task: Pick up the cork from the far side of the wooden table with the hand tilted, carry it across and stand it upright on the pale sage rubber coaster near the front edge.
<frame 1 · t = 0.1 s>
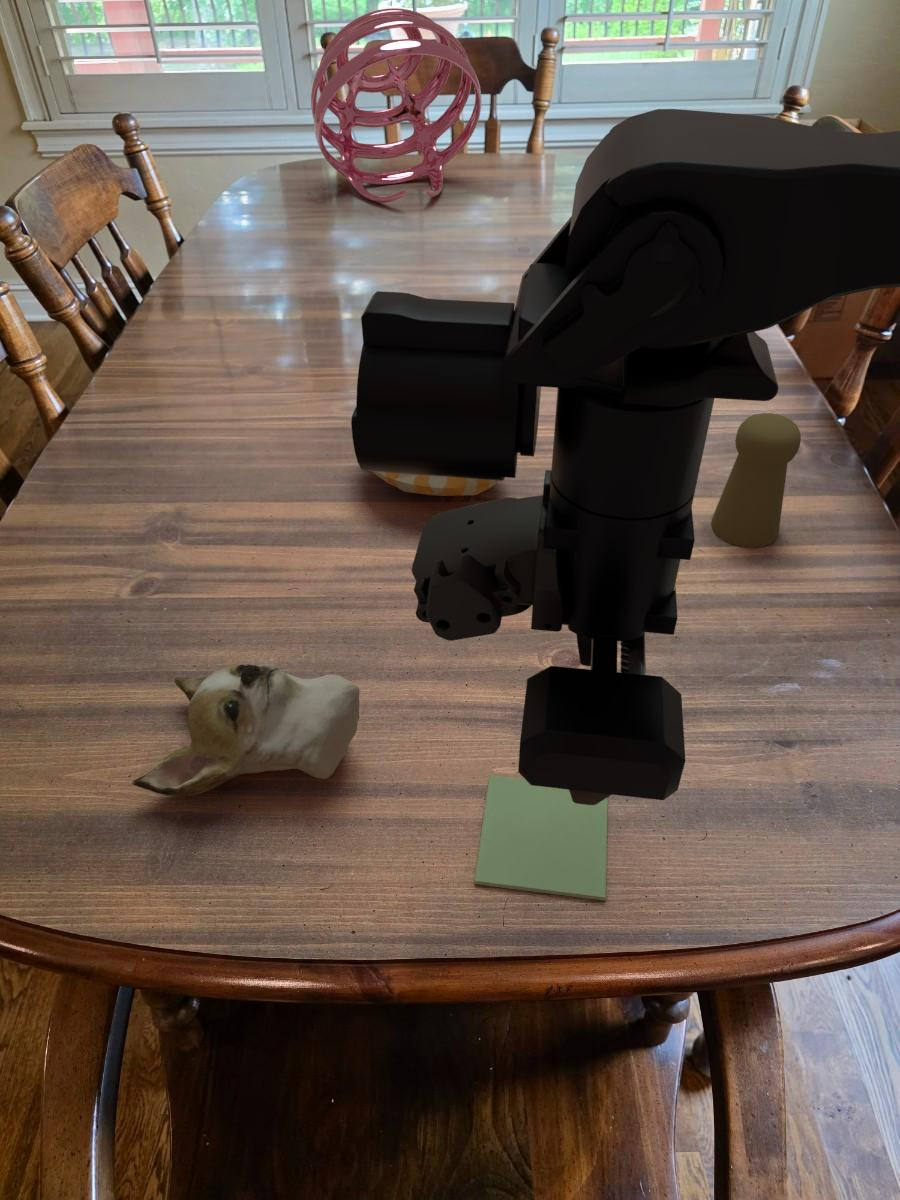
hand: (587, 727, 45), 14 cm above the table, tool pointing down, fingers open, 9 cm apart
coaster: (543, 836, 56), on the table
cork: (744, 528, 80), on the table
ceramic sculpture: (264, 754, 61), on the table
spiral basket: (400, 190, 153), on the table
nautilus: (434, 464, 88), on the table
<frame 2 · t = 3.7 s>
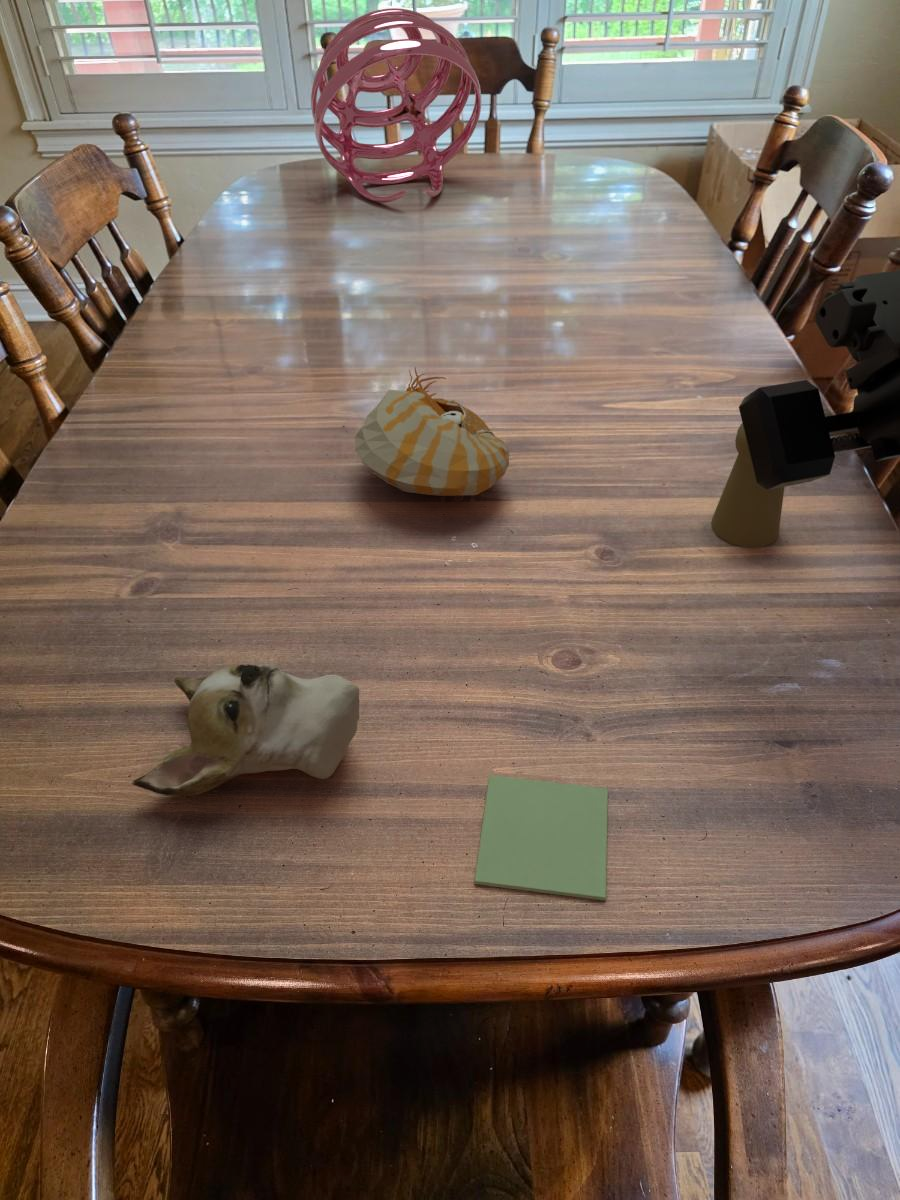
hand: (810, 453, 64), 13 cm above the table, tool tilted 45°, fingers open, 9 cm apart
nothing on the table moved.
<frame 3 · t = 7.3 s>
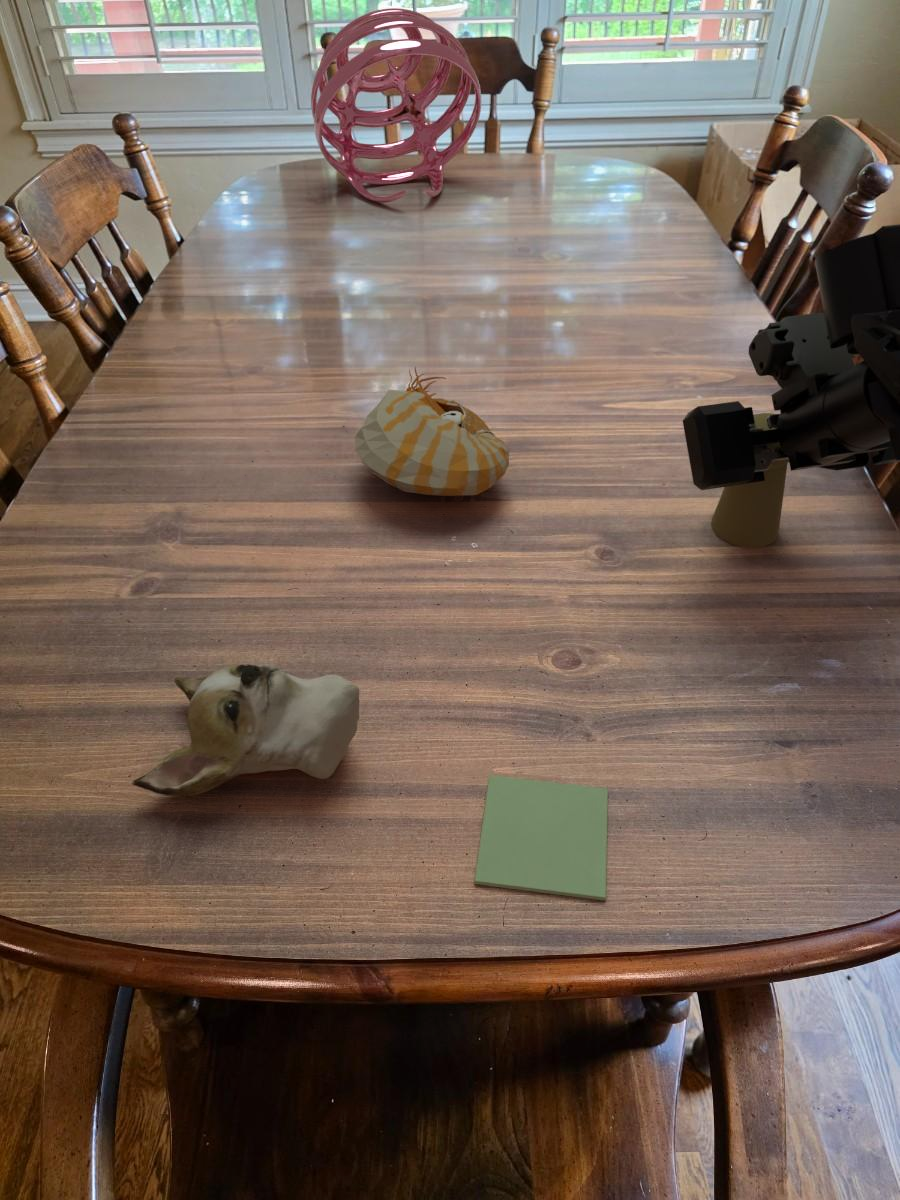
hand: (753, 458, 76), 7 cm above the table, tool tilted 45°, fingers closed on cork, 5 cm apart
cork: (744, 528, 80), on the table, touching gripper
everything else where it was.
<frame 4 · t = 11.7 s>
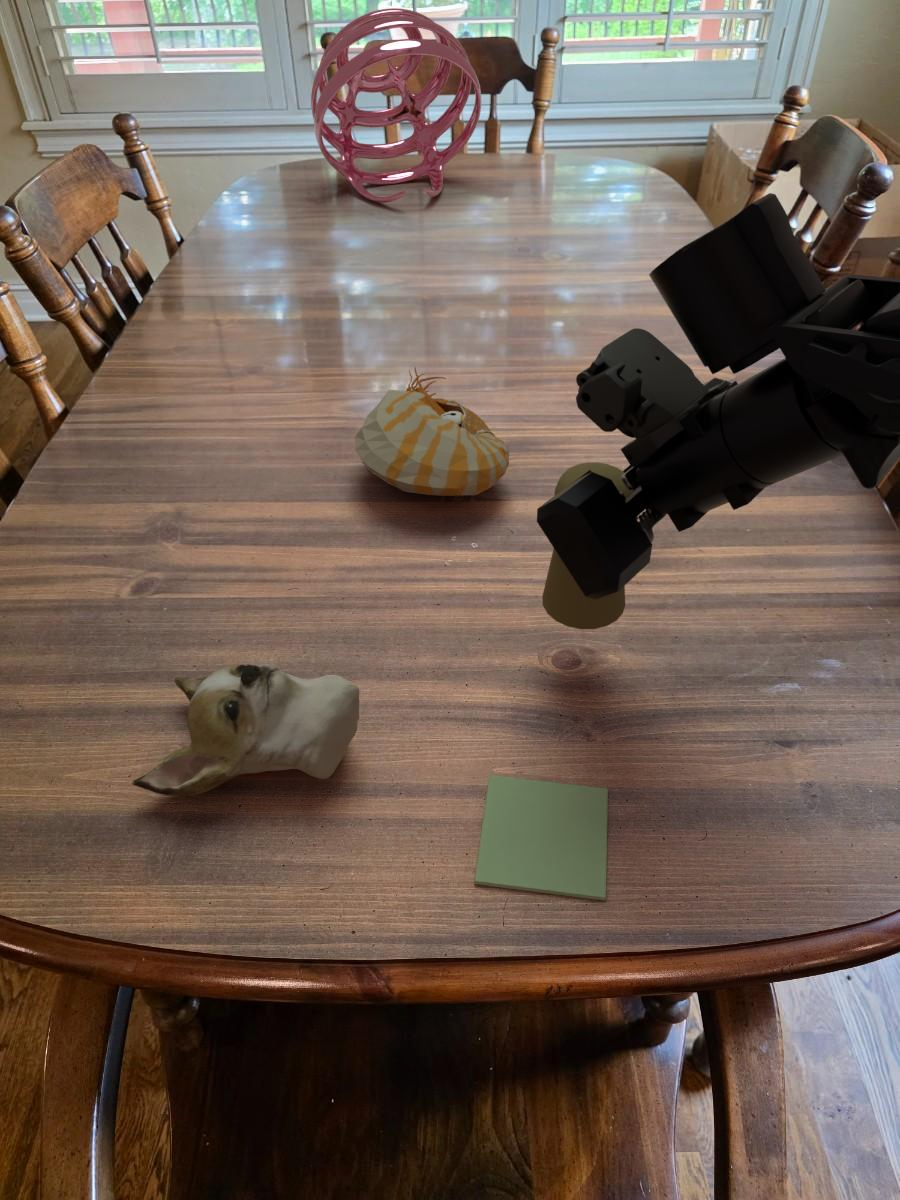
hand: (574, 521, 60), 13 cm above the table, tool tilted 45°, fingers closed on cork, 5 cm apart
cork: (583, 603, 64), point 6 cm above the table, touching gripper
everything else where it was.
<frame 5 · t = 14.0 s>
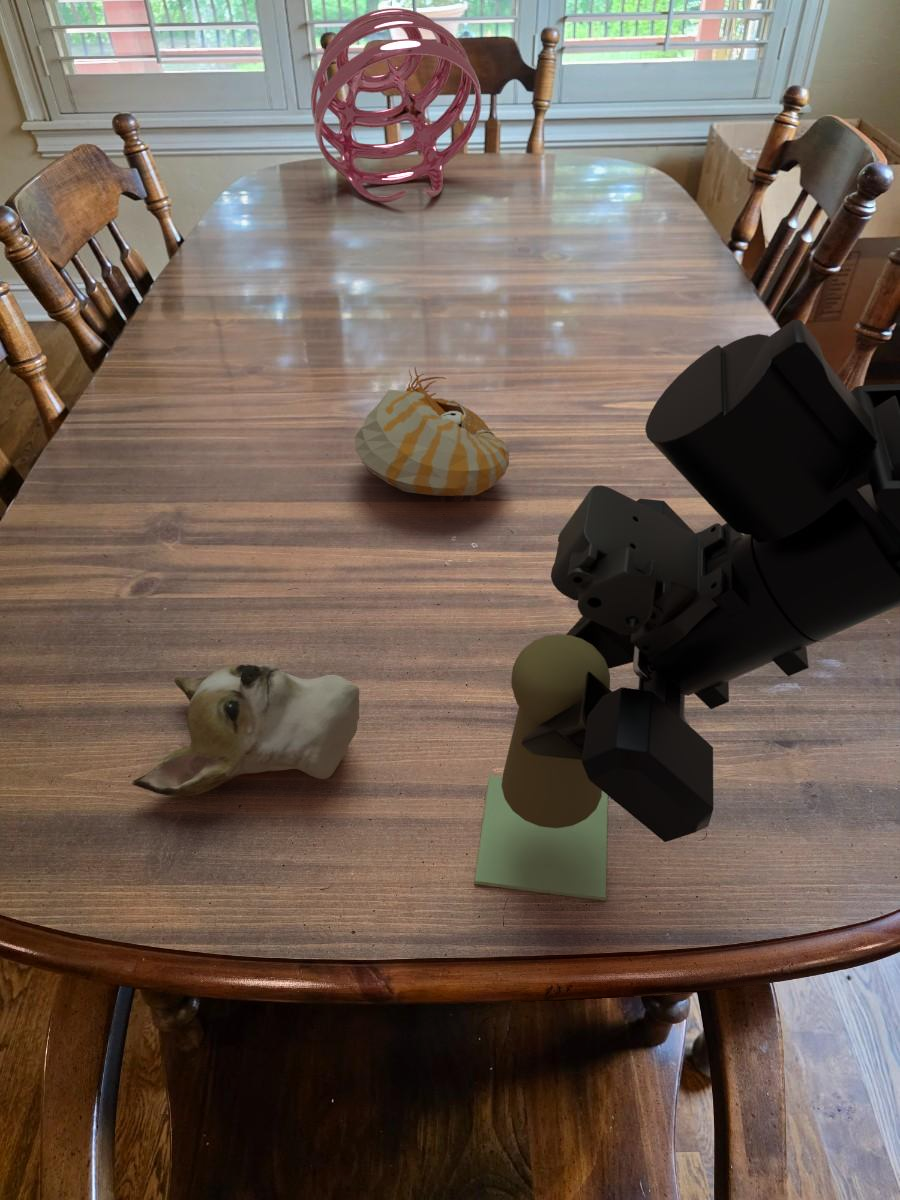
hand: (533, 709, 48), 12 cm above the table, tool tilted 45°, fingers closed on cork, 5 cm apart
cork: (551, 786, 52), point 5 cm above the table, touching gripper
everything else where it was.
when the fingers open (7 cm above the table, at t = 15.9 s): cork stays where it is, resting on coaster.
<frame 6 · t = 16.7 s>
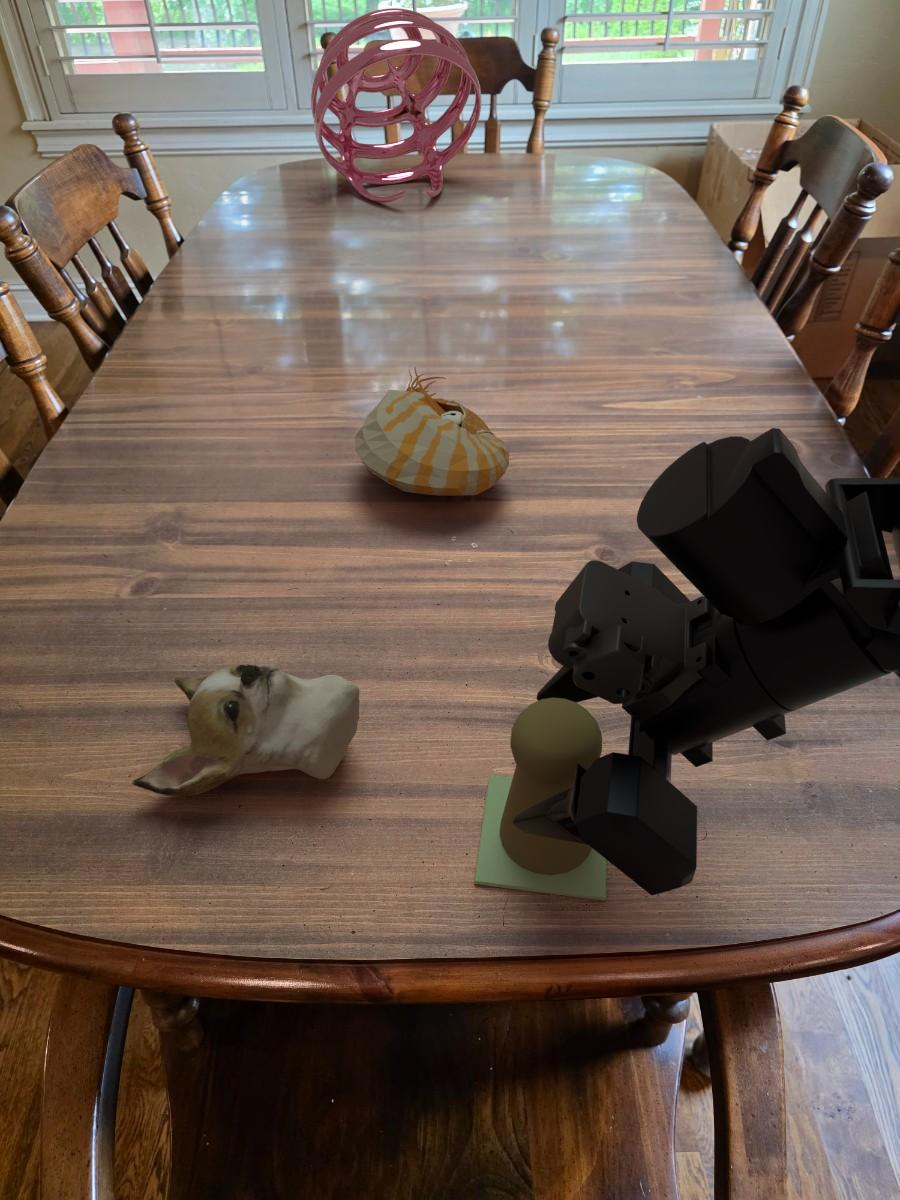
hand: (530, 759, 51), 8 cm above the table, tool tilted 45°, fingers open, 9 cm apart
cork: (546, 834, 56), resting on coaster
everything else where it was.
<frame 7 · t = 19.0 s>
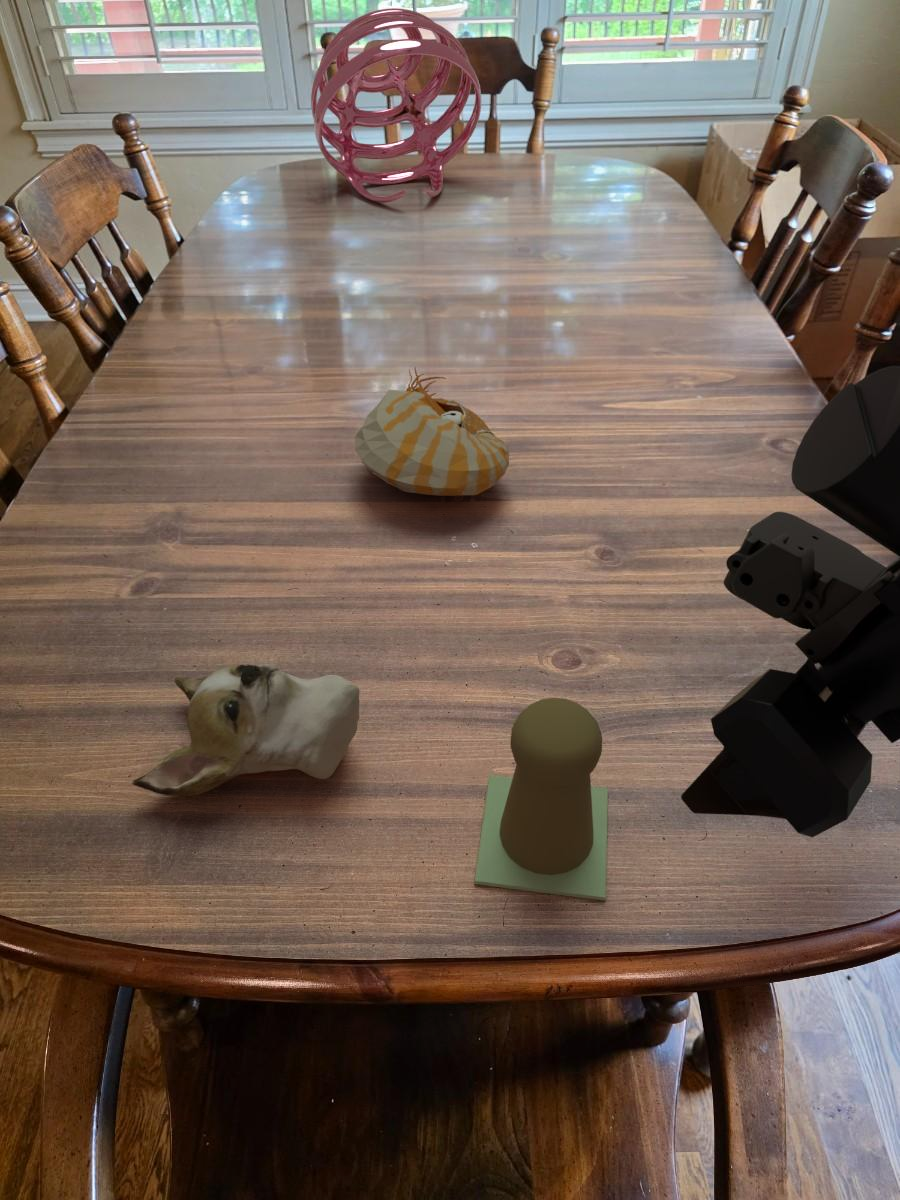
hand: (724, 764, 47), 10 cm above the table, tool tilted 30°, fingers open, 9 cm apart
nothing on the table moved.
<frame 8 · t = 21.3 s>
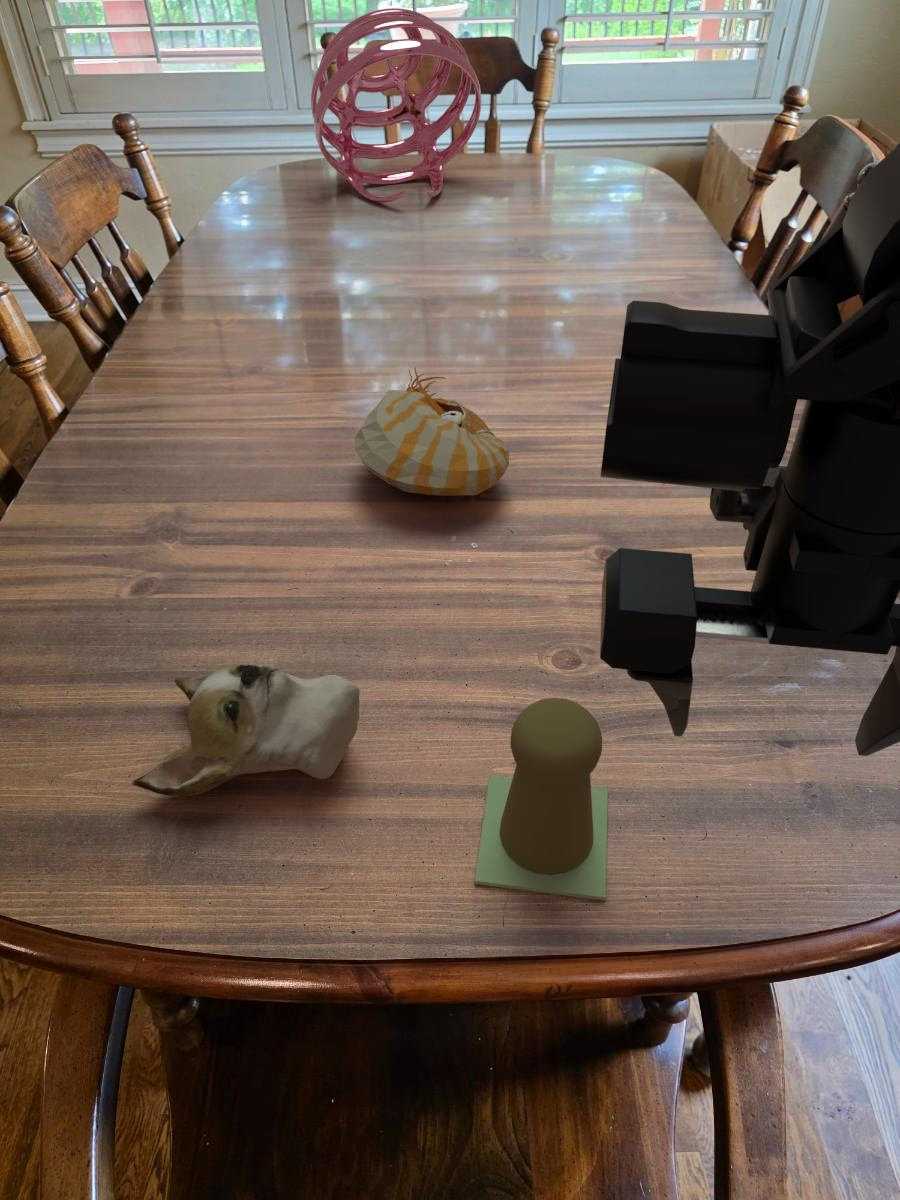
hand: (767, 738, 45), 13 cm above the table, tool pointing down, fingers open, 9 cm apart
nothing on the table moved.
at the end: cork 0.1 cm off-centre on the coaster, point 0.2 cm above the coaster's base; cork tilted 0°; the gripper is holding nothing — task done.
